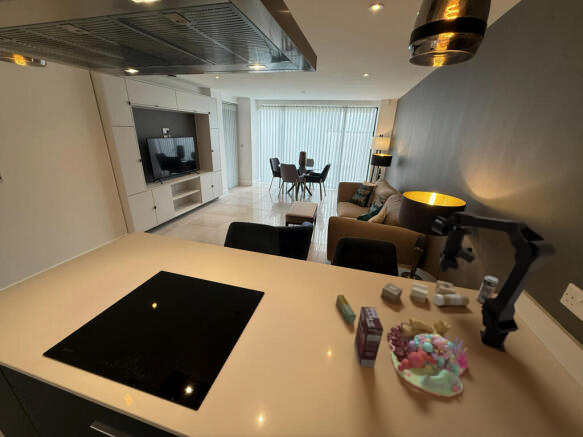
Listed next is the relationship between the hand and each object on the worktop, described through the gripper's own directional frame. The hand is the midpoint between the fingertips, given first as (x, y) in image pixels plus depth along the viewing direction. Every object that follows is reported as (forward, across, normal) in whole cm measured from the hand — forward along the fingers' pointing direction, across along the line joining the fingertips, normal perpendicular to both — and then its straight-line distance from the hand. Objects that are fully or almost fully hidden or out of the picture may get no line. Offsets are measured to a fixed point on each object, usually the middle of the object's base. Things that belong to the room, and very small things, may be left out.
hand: (443, 272), depth 101 cm
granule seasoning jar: (+10, 0, -11) cm, 15 cm away
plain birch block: (+12, -7, +7) cm, 16 cm away
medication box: (+12, -36, +31) cm, 49 cm away
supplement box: (+12, -50, +19) cm, 55 cm away
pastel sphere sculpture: (+12, -39, +2) cm, 41 cm away
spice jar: (+12, +8, -18) cm, 23 cm away
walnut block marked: (+12, -15, +17) cm, 26 cm away
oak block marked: (+12, +2, -3) cm, 13 cm away
